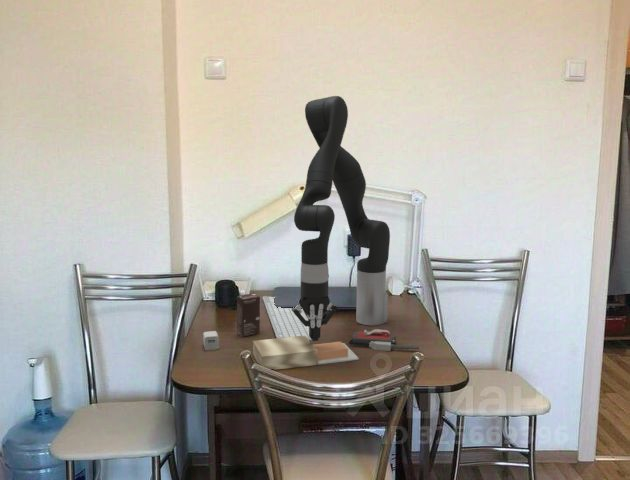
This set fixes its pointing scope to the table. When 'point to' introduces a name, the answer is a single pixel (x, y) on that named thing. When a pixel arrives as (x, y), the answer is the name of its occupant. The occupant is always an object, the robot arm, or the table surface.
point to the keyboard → (285, 320)
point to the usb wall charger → (211, 340)
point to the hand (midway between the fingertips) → (314, 339)
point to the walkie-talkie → (377, 340)
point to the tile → (331, 350)
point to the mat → (350, 357)
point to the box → (248, 314)
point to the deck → (285, 352)
